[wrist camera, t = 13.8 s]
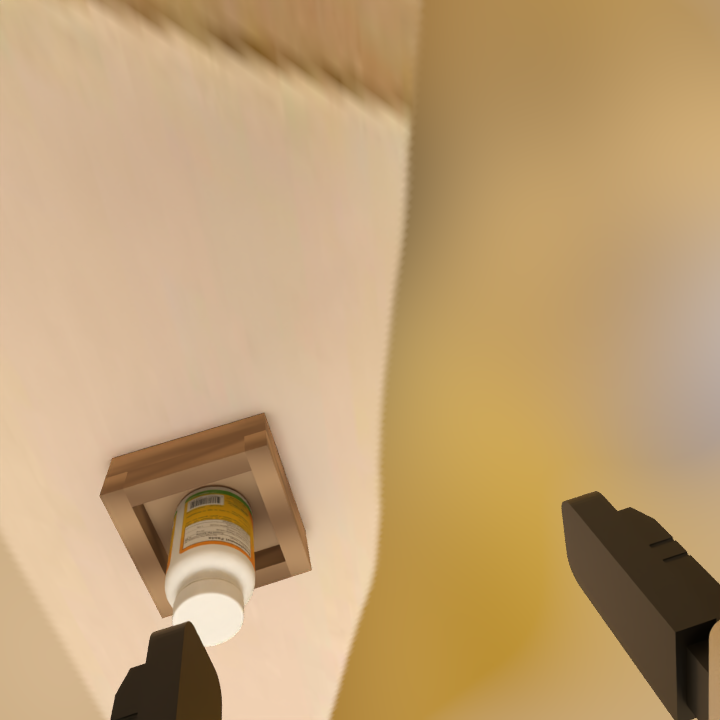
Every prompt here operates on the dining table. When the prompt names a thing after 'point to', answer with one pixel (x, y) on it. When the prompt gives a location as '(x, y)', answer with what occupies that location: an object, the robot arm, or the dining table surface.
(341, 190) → the dining table surface
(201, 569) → the supplement bottle
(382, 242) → the dining table surface
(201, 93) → the dining table surface
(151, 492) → the wooden open box
